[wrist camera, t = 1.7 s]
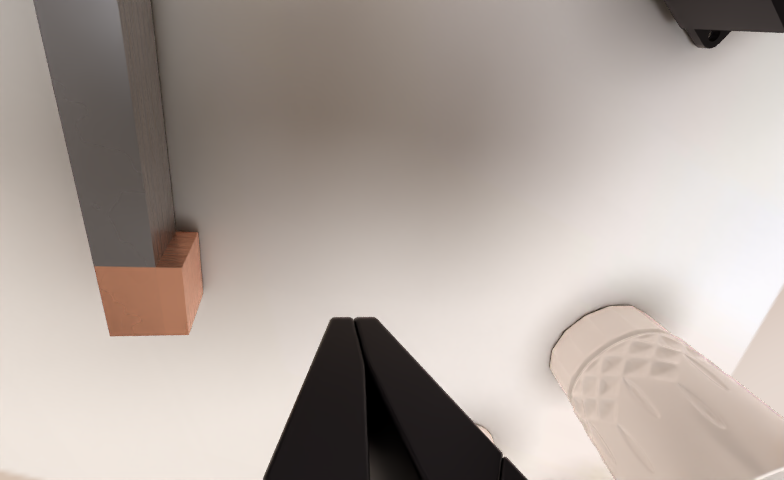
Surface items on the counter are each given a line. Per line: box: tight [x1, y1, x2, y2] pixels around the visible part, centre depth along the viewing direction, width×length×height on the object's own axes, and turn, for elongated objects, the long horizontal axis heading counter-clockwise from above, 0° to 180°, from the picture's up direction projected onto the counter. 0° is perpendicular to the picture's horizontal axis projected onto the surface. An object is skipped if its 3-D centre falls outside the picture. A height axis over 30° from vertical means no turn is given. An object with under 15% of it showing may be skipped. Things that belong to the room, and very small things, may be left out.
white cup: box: [550, 306, 784, 480], centre depth 21 cm, size 8×8×10 cm
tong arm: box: [33, 0, 203, 336], centre depth 11 cm, size 19×3×3 cm, turn 171°
